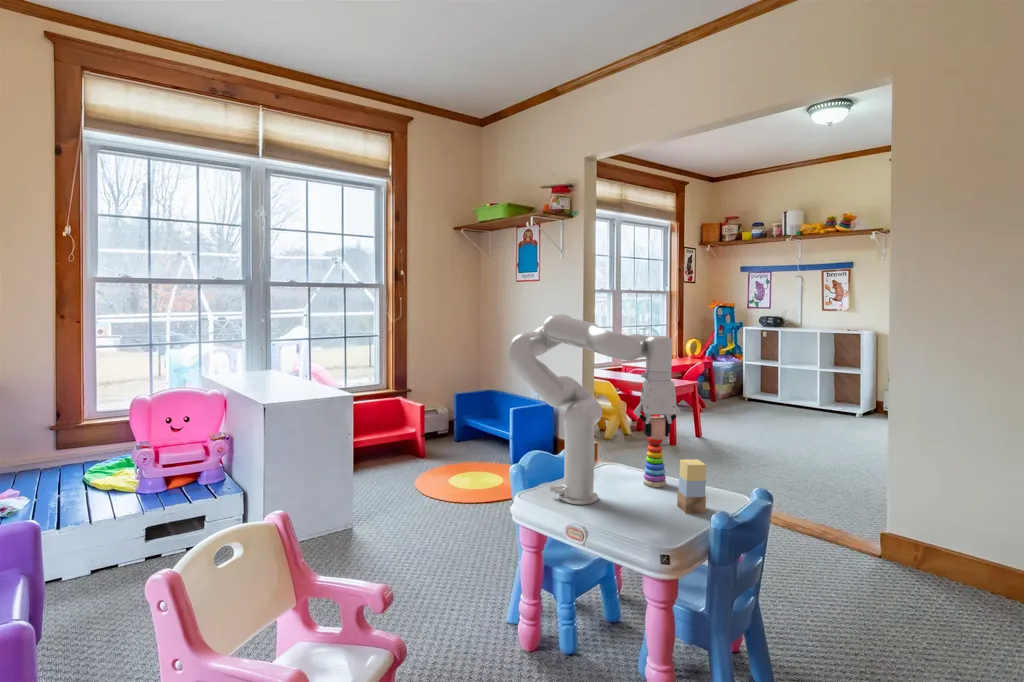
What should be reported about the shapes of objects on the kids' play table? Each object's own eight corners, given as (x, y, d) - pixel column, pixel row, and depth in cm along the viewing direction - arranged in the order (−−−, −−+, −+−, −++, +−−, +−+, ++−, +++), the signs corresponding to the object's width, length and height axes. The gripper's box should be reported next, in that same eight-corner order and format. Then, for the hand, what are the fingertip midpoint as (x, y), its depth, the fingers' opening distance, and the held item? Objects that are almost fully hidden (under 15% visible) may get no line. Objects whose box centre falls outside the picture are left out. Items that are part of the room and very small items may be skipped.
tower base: (685, 513, 179) (685, 497, 179) (677, 506, 185) (677, 490, 185) (705, 513, 180) (706, 497, 179) (696, 505, 186) (697, 490, 186)
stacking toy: (664, 481, 210) (666, 429, 208) (667, 488, 202) (669, 435, 200) (641, 480, 210) (643, 429, 209) (644, 487, 202) (646, 434, 201)
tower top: (686, 481, 179) (687, 465, 178) (679, 475, 184) (680, 459, 184) (705, 480, 179) (705, 464, 179) (697, 475, 185) (697, 459, 185)
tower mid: (686, 497, 179) (686, 481, 178) (678, 490, 185) (679, 475, 184) (705, 496, 180) (705, 480, 179) (696, 490, 185) (697, 474, 185)
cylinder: (651, 439, 177) (652, 419, 176) (646, 435, 182) (646, 416, 181) (667, 439, 177) (668, 419, 177) (661, 435, 182) (662, 416, 182)
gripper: (634, 378, 173) (633, 439, 175) (690, 378, 175) (688, 438, 176) (627, 375, 181) (626, 433, 182) (680, 374, 183) (679, 432, 184)
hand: (656, 435), depth 179 cm, fingers closed on cylinder, 4 cm apart
